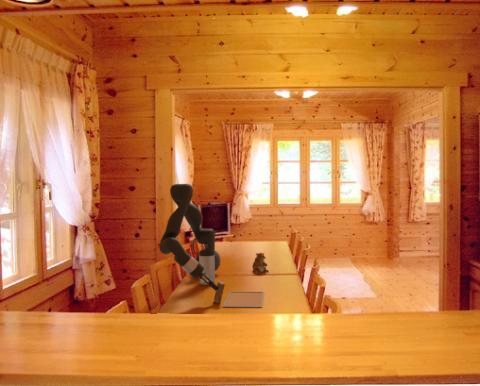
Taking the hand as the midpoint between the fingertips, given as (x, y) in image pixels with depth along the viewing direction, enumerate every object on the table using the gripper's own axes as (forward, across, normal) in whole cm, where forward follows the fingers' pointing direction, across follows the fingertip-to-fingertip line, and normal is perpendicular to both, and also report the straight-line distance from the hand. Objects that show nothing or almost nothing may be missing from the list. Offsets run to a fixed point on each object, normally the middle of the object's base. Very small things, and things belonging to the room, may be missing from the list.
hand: (216, 289), depth 216 cm
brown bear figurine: (+36, +62, -26) cm, 76 cm away
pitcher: (+11, +66, -1) cm, 66 cm away
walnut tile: (+4, 0, +5) cm, 7 cm away
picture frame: (+16, 0, -5) cm, 16 cm away
